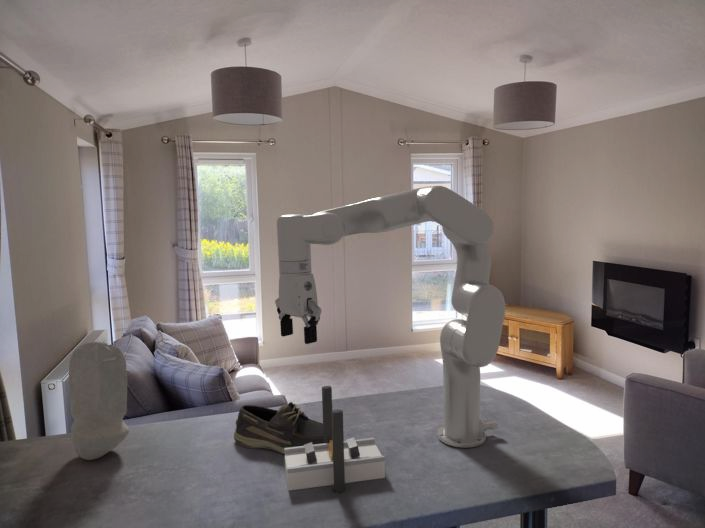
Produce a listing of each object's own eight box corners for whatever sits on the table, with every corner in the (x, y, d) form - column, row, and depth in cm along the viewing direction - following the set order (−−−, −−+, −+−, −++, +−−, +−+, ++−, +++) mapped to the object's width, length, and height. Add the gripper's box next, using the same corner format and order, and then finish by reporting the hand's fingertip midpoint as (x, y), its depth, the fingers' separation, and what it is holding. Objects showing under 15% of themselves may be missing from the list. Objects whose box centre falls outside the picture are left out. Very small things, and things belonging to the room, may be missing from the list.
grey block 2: (356, 446, 122) (353, 437, 121) (360, 455, 118) (357, 445, 117) (348, 449, 122) (345, 439, 121) (351, 458, 117) (349, 448, 117)
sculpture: (62, 471, 123) (51, 350, 119) (77, 448, 134) (67, 337, 131) (129, 463, 126) (120, 344, 122) (138, 441, 137) (130, 333, 134)
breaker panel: (374, 456, 126) (373, 437, 126) (384, 477, 116) (384, 457, 116) (285, 467, 122) (284, 448, 121) (288, 490, 112) (287, 469, 111)
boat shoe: (335, 461, 125) (333, 419, 124) (224, 451, 131) (222, 411, 130) (344, 440, 136) (343, 402, 134) (242, 433, 142) (240, 395, 141)
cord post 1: (332, 454, 128) (330, 385, 126) (334, 459, 125) (332, 388, 123) (323, 455, 127) (321, 386, 125) (324, 460, 125) (322, 389, 123)
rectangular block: (336, 450, 121) (338, 440, 121) (339, 459, 117) (341, 449, 116) (328, 450, 121) (329, 440, 120) (331, 459, 116) (333, 448, 116)
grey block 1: (314, 451, 120) (312, 442, 120) (317, 460, 116) (314, 450, 115) (306, 454, 120) (303, 444, 119) (308, 463, 115) (305, 453, 115)
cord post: (343, 486, 113) (341, 408, 111) (345, 492, 111) (343, 413, 109) (333, 488, 113) (330, 410, 111) (335, 493, 110) (332, 414, 108)
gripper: (330, 268, 115) (333, 342, 117) (287, 263, 128) (291, 329, 130) (303, 272, 110) (307, 349, 112) (261, 266, 123) (265, 335, 125)
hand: (298, 338), depth 121 cm, fingers open, 9 cm apart
